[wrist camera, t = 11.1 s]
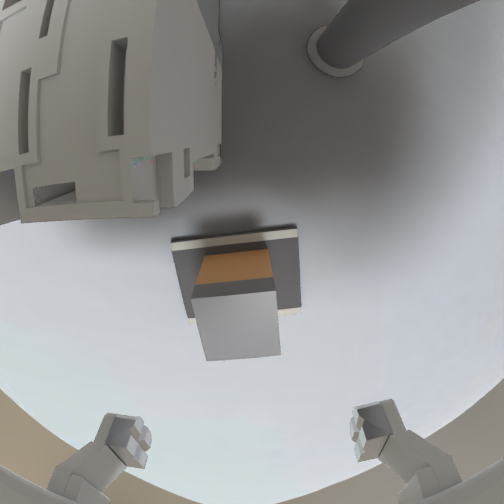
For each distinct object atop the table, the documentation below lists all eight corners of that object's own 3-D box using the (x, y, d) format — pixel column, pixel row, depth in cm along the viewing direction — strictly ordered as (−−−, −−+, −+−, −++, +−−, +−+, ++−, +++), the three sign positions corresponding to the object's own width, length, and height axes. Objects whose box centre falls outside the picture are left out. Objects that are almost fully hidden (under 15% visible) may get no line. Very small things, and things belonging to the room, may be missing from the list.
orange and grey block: (267, 249, 21) (275, 290, 15) (272, 303, 22) (280, 354, 17) (204, 255, 21) (190, 298, 15) (214, 309, 22) (206, 361, 17)
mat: (296, 226, 21) (297, 228, 20) (300, 309, 23) (301, 313, 23) (171, 240, 21) (170, 243, 20) (190, 320, 23) (189, 324, 23)
